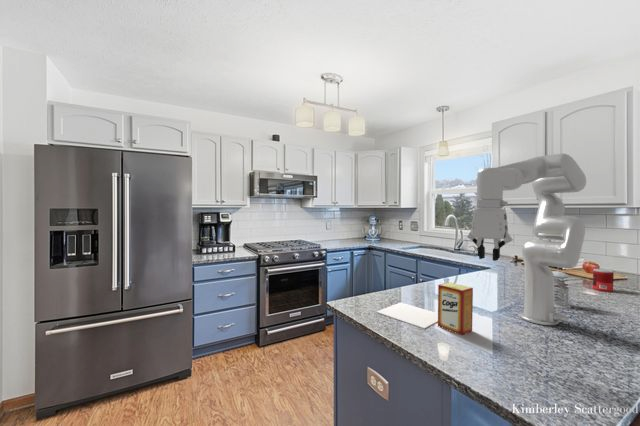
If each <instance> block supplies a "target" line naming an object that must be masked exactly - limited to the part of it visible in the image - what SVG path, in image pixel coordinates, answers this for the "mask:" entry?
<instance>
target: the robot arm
mask: <svg viewBox="0 0 640 426" xmlns="http://www.w3.org/2000/svg"><path fill="white" fill-rule="evenodd" d="M475 180H476V182H475V184H476V208H475V209H474V211H473V216H472V222H471V230H470V232H469V233H468V235H467V236H466V237H467V239H468V240H470V241H472V242H473V243H474V244H475V246H476V247H477V257H478V259H479V260H482V259H485V256H486V255H485V253H486V248H485V245H484V242H485V240H493V245H494V247H493V248H492V261H495V262H497V261H498V260H499V259H500V258H501V248H502V247H503V246H505V245H507V244H508V243H511V242H512V241H513V238H512V236H511V235H510V233H509V225H508V224H509V223H508V215H507V211H506V209H504V207H505V206H508V201H505V200H504V197H503V195H504V194H503V193H504V192H505V191H514V190H518V189H519V188H520V187H522V185H527V184H529V183H532V184H531V185H532V189H533V191H534V193H535V197H536V199H537V203H538V207H537V212H536V216H535V219H534V223H533V228H532V233H533V235H534V236H535V237H537V238H540V239H532V240H527V241H526V242H525V243H524V244H523V245H522V257H523V258H522V259H523V264H524V265H523V266H524V289H523V290H524V292H523V293H524V295H523V296H524V297H523V300H524V302H523V310H522V311H520V312H519V314H518V315H519V317H520V318H521V319H522V320H524V321H527V322H529V323H532V324H537V325H542V326H557V325H559V324H560V322H564V323H569V321H570V320H569V317H567V315H565V314H564V315H563V314H559V313H558V312H557V310H556V309H555V307H554V294H555V293H554V288H556V287H555V282H556V279H555V278H556V277H554V274H553V272H552V271H553V270H552V269H551V268H550V267H554V268H555V267H556V268H561V269H562V268H563V269H574V268H576V267H577V265H578V264H579V261H580V257H581V254H582V249H583V248H582V247H583V244H584V239H585V234H586V225H585V223H584V220H583V219H582V218H580V217H577V216H575V215H574V216H573V215H572V216H571V215H565V211H566V210H565V209H566V205H565V204H564V202H563V201H562V199H560V198H559V197H558V196H557V195H556V194H565V193H567V194H571V193H579V192H581V191H582V190H584V189H585V188H586V184H587V177H586V174H585V173H584V171H583V170H582V168H581V167H580V166H579V164H578V163H577V161H576V160H575V159H574V158H573V157H572V156H571V155H569V154H567V153H557V154H556V153H555V154H548V155H539V156H535V157H531V158H528V159H524V160H521V161H517V162H513V163H508V164H505V165H501V166H497V167H483V168H480V169H478V171H477V174H476V179H475ZM503 191H504V192H503ZM502 239H503V240H502ZM552 240H553V241H552ZM561 241H562V242H561Z"/></svg>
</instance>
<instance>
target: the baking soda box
mask: <svg viewBox="0 0 640 426" xmlns="http://www.w3.org/2000/svg"><path fill="white" fill-rule="evenodd" d="M437 287H438V288H437V289H438V293H437V295H438V296H437V297H438V298H437V313H438V322H437V327H439V326H440V327H439V328H441V327H443V328H442V329H444V328H445V329H444V330H447V329H448V330H447V331H449V330H451V331H450V332H452V331H453V332H452V333H455V332H456V333H455V334H457V333H458V334H457V335H460V334H461V335H460V336H464V335H466V333H467V334H469V333H471V332H472V331H473V312H474V311H473V304H474V300H473V298H474V291H473V290H474V287H471V286H467V285H462V284H458V283H453V282H449V281H448V282H445V283H440V284H438V286H437ZM468 332H469V333H468Z"/></svg>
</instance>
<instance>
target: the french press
mask: <svg viewBox="0 0 640 426" xmlns="http://www.w3.org/2000/svg"><path fill="white" fill-rule="evenodd" d="M551 271H552V272H553V274H554V278H564V279H565V278H569V277H570V275H568V273H565V272H562V271H560V270H551ZM554 308H561V309H571V308H572V306H571V304H569V287H568V283H565V282H560V281H559V280H556V281H555V288H554Z"/></svg>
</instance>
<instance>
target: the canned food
mask: <svg viewBox="0 0 640 426" xmlns="http://www.w3.org/2000/svg"><path fill="white" fill-rule="evenodd" d="M592 289H593V290H595V291H598V292H605V293H612V292H613V291H614V270H611V269H605V268H593V270H592Z"/></svg>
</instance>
